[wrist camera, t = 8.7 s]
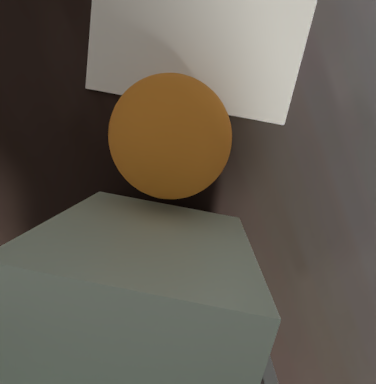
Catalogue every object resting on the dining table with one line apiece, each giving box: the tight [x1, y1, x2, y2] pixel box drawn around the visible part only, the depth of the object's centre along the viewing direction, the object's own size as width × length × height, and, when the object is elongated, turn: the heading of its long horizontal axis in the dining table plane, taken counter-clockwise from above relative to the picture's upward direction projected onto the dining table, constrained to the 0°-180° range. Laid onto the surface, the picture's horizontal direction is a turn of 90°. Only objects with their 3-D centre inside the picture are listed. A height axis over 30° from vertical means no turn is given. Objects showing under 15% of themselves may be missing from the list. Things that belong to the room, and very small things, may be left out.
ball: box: [108, 73, 232, 199], centre depth 10 cm, size 5×5×5 cm
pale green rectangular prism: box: [0, 191, 281, 384], centre depth 10 cm, size 7×10×7 cm
